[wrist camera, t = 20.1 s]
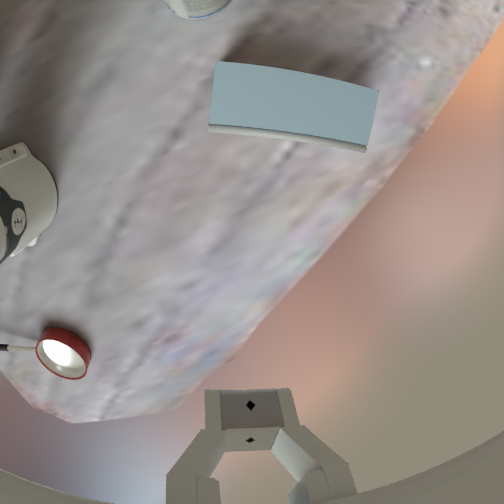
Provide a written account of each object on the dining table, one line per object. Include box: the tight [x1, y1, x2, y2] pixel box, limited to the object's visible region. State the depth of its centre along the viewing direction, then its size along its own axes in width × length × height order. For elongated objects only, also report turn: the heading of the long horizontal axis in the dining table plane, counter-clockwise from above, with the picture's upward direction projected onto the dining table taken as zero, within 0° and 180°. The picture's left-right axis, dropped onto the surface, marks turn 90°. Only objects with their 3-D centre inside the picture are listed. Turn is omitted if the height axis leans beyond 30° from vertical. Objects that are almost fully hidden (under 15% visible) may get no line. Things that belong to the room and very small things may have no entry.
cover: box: [208, 61, 379, 153], centre depth 33 cm, size 20×9×1 cm, turn 83°
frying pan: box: [0, 328, 91, 380], centre depth 55 cm, size 32×13×6 cm, turn 88°
